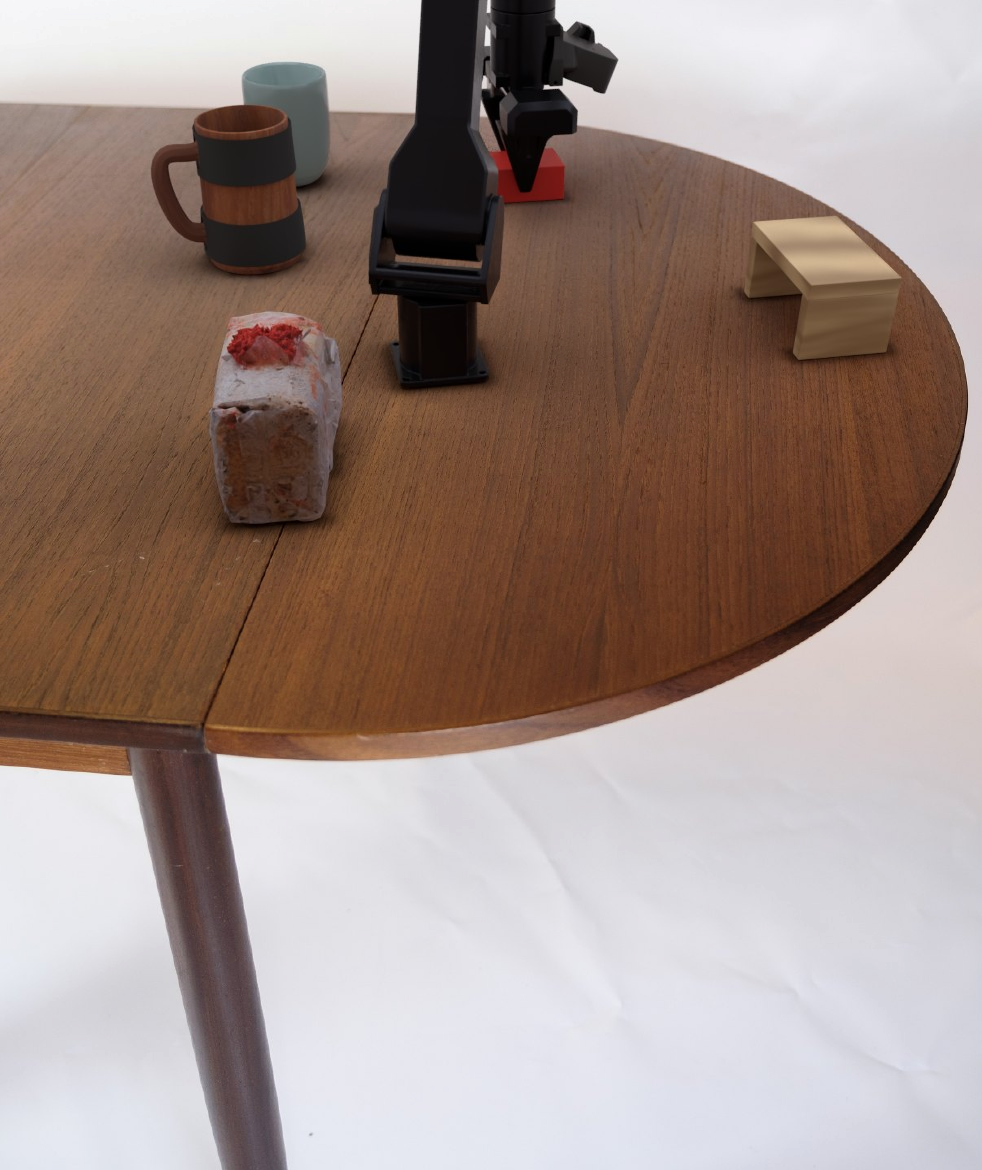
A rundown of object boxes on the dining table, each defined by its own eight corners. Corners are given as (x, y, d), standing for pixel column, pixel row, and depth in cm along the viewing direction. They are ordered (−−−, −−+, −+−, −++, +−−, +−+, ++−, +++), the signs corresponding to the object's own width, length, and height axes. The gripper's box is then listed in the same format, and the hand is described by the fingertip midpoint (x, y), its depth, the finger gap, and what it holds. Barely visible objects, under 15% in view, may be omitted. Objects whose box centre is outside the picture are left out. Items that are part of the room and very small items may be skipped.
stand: (886, 352, 96) (902, 277, 93) (798, 360, 95) (811, 285, 92) (824, 285, 106) (836, 215, 102) (743, 292, 105) (753, 221, 101)
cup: (239, 189, 122) (226, 81, 116) (273, 162, 128) (263, 58, 122) (314, 198, 120) (305, 89, 114) (345, 171, 126) (338, 65, 120)
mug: (159, 249, 111) (136, 112, 104) (295, 231, 114) (282, 97, 107) (173, 289, 105) (150, 146, 97) (317, 269, 108) (305, 129, 101)
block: (551, 180, 125) (553, 147, 123) (563, 199, 121) (565, 165, 119) (476, 185, 123) (476, 152, 121) (485, 204, 119) (485, 170, 118)
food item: (229, 417, 88) (211, 283, 82) (345, 412, 89) (335, 279, 83) (216, 530, 78) (193, 386, 72) (348, 523, 78) (336, 380, 72)
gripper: (641, 30, 106) (628, 213, 115) (586, -22, 120) (578, 144, 130) (509, 36, 104) (507, 221, 114) (469, -18, 119) (470, 151, 128)
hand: (519, 182), depth 121 cm, fingers closed on block, 5 cm apart
